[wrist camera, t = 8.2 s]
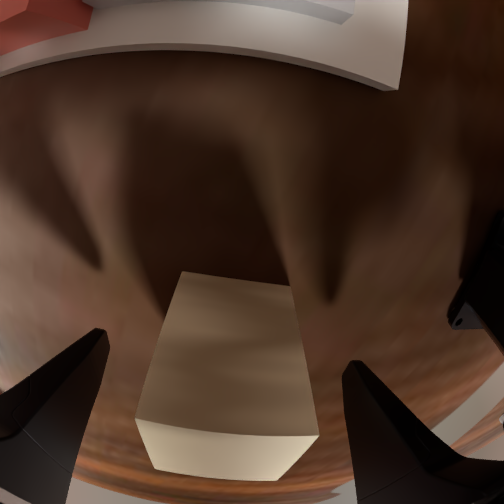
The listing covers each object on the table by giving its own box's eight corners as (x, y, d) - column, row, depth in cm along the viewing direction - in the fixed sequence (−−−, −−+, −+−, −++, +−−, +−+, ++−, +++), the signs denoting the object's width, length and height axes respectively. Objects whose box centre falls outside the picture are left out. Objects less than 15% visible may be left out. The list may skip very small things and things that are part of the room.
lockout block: (290, 286, 10) (319, 435, 5) (268, 356, 12) (276, 480, 7) (182, 270, 10) (134, 417, 5) (180, 345, 12) (154, 468, 7)
